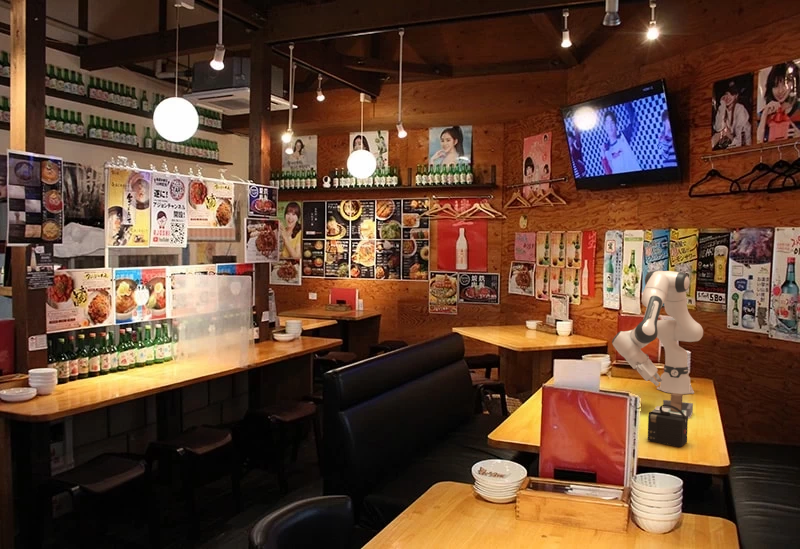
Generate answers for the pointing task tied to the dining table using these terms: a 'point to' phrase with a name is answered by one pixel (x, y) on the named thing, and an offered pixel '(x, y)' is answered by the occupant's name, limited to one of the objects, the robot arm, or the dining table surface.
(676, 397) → the walnut block
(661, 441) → the black portable radio
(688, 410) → the corner arena
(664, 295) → the robot arm
